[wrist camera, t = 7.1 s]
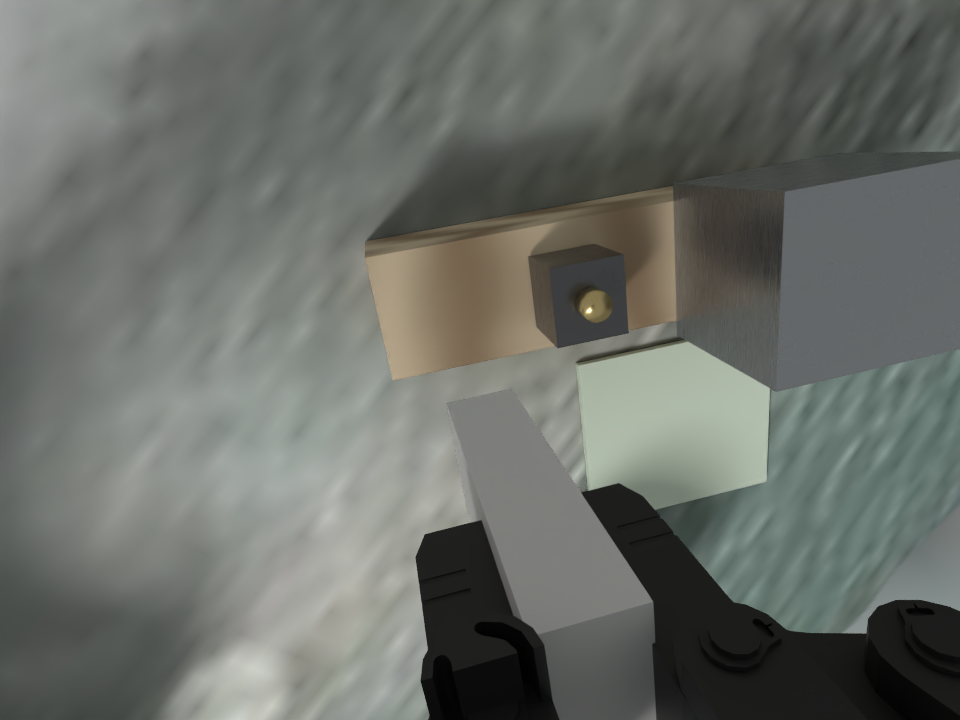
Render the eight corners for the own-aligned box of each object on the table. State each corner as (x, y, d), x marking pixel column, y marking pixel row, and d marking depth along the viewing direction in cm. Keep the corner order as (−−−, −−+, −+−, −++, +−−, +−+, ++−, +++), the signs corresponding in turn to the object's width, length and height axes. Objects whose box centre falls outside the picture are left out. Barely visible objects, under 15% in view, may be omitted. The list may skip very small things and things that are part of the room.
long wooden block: (389, 345, 29) (392, 380, 25) (365, 241, 27) (364, 258, 23) (770, 267, 32) (837, 286, 27) (773, 167, 30) (847, 168, 25)
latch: (536, 327, 25) (564, 354, 21) (527, 256, 24) (555, 273, 20) (600, 314, 25) (637, 338, 22) (594, 243, 24) (633, 258, 21)
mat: (590, 521, 36) (593, 525, 35) (575, 363, 32) (578, 365, 31) (762, 478, 37) (766, 481, 37) (768, 321, 33) (772, 323, 33)
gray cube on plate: (676, 335, 27) (775, 391, 20) (672, 183, 24) (784, 191, 18) (827, 302, 28) (968, 346, 21) (838, 153, 25) (1002, 150, 19)
